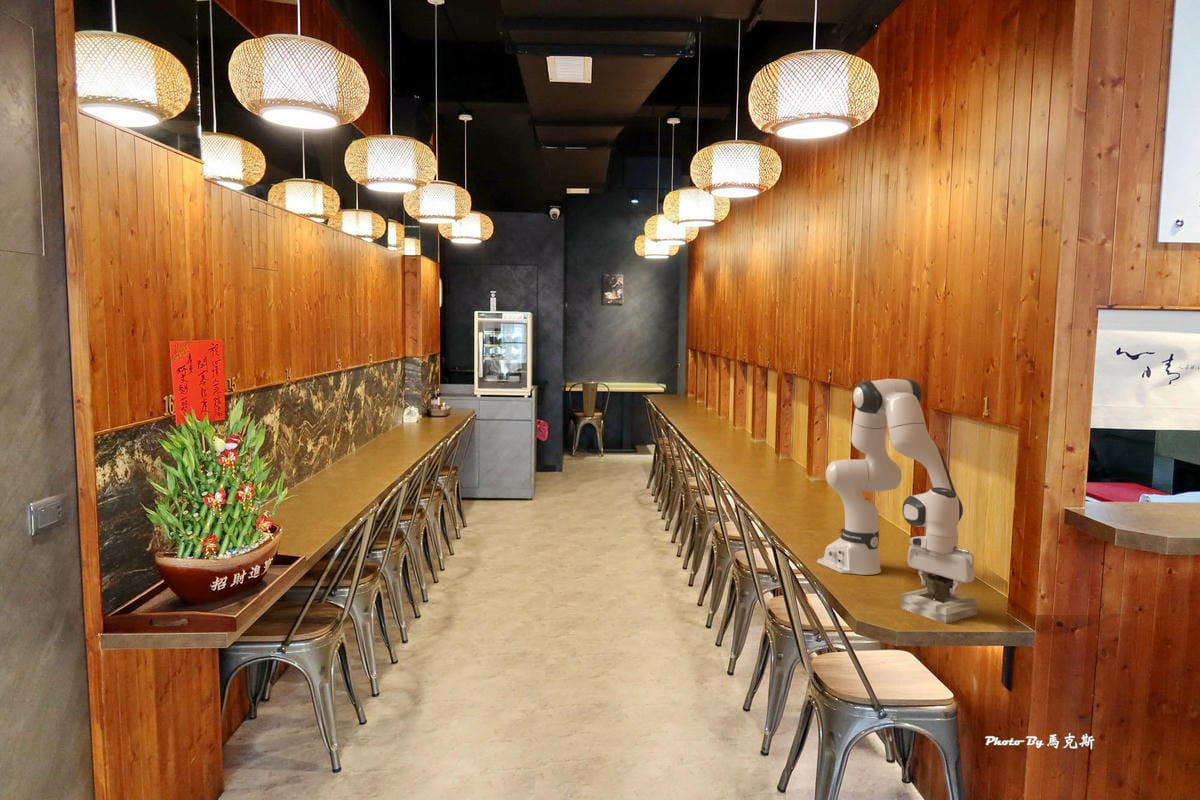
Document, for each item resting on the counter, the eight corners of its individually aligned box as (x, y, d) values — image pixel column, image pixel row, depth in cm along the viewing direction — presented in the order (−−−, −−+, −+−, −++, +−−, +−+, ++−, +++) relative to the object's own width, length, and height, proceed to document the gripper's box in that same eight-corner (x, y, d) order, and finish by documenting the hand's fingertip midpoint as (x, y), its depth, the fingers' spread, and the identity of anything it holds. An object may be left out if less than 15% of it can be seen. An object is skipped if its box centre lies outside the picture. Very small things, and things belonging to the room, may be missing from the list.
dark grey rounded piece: (944, 599, 236) (946, 573, 236) (956, 607, 229) (958, 581, 228) (920, 598, 236) (922, 572, 235) (931, 607, 229) (933, 580, 228)
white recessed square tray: (900, 610, 235) (901, 593, 235) (931, 602, 243) (932, 586, 242) (945, 625, 222) (946, 608, 222) (977, 616, 230) (977, 600, 230)
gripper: (980, 550, 224) (978, 597, 225) (918, 535, 241) (916, 579, 242) (967, 553, 221) (964, 601, 222) (905, 537, 238) (903, 582, 239)
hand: (939, 589), depth 232 cm, fingers open, 8 cm apart
